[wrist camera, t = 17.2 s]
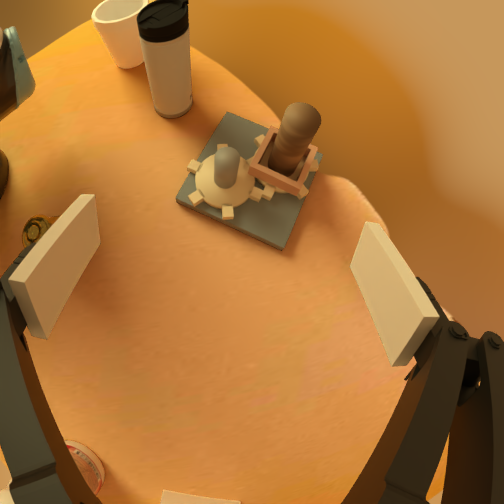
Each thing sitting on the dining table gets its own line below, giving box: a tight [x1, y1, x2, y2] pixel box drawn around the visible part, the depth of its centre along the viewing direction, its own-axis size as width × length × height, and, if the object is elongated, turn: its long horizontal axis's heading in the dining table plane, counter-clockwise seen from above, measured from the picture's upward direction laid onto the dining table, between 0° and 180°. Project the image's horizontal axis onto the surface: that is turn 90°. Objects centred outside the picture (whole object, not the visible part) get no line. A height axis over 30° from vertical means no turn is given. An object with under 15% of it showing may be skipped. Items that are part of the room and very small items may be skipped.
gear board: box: [176, 112, 323, 251], centre depth 41 cm, size 16×16×9 cm
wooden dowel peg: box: [268, 102, 321, 177], centre depth 37 cm, size 4×4×12 cm
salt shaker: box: [22, 215, 60, 248], centre depth 35 cm, size 7×8×10 cm
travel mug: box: [136, 0, 193, 118], centre depth 37 cm, size 6×7×20 cm
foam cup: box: [91, 0, 149, 69], centre depth 41 cm, size 10×9×13 cm
